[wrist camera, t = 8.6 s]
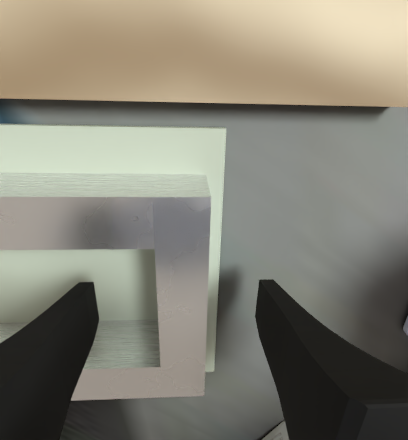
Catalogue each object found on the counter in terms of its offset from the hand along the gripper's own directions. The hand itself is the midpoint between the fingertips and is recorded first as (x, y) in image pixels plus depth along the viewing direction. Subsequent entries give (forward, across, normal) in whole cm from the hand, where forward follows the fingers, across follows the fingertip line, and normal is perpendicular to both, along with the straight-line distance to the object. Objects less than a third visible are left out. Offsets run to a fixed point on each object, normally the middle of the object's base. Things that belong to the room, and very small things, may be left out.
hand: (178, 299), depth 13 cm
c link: (+2, +5, 0) cm, 5 cm away
